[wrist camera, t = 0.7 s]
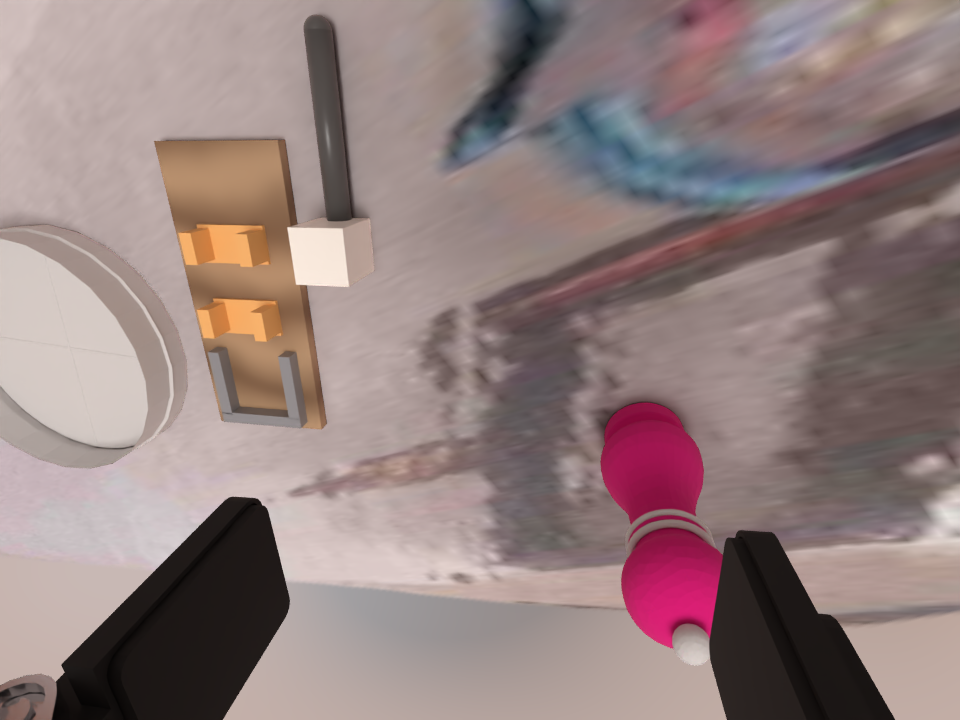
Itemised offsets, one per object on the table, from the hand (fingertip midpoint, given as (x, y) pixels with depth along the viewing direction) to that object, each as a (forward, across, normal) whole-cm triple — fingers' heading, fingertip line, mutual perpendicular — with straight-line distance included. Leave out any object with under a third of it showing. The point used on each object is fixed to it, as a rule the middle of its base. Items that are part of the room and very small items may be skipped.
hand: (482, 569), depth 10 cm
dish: (+31, +44, +7) cm, 54 cm away
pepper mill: (+30, -8, +14) cm, 34 cm away
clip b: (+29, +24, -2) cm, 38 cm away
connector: (+30, +15, -9) cm, 35 cm away
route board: (+30, +24, +2) cm, 39 cm away
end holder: (+29, +25, +10) cm, 40 cm away
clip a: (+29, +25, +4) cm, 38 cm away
